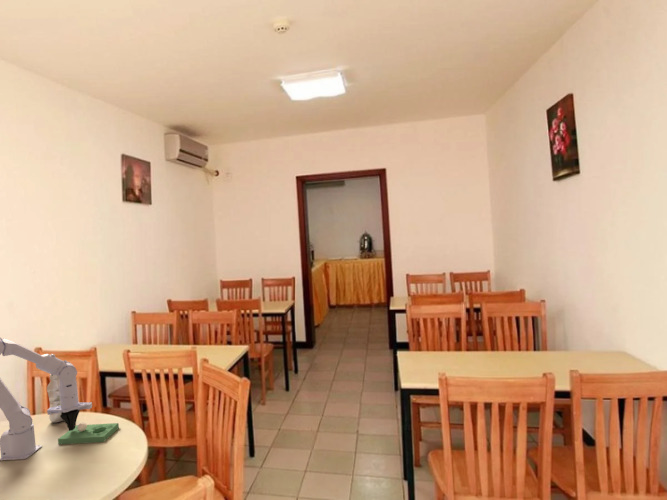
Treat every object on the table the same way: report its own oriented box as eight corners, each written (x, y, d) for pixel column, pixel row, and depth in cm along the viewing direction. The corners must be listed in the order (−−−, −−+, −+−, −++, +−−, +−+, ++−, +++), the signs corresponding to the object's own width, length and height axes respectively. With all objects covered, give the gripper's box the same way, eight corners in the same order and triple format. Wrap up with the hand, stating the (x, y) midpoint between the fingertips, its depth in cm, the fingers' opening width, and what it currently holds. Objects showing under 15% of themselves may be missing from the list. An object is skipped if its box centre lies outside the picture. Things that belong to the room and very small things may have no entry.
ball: (75, 433, 147) (75, 425, 146) (81, 429, 150) (80, 421, 150) (84, 433, 147) (83, 424, 146) (89, 428, 150) (88, 420, 150)
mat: (58, 444, 143) (57, 439, 143) (76, 430, 153) (75, 425, 153) (104, 441, 143) (103, 436, 143) (118, 427, 153) (118, 423, 153)
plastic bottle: (55, 418, 165) (51, 372, 164) (72, 416, 166) (68, 370, 165) (46, 425, 159) (41, 378, 158) (63, 423, 159) (59, 376, 158)
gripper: (41, 402, 142) (45, 437, 143) (85, 396, 145) (88, 431, 146) (51, 394, 149) (54, 428, 150) (92, 388, 152) (96, 422, 153)
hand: (72, 429), depth 148 cm, fingers closed
